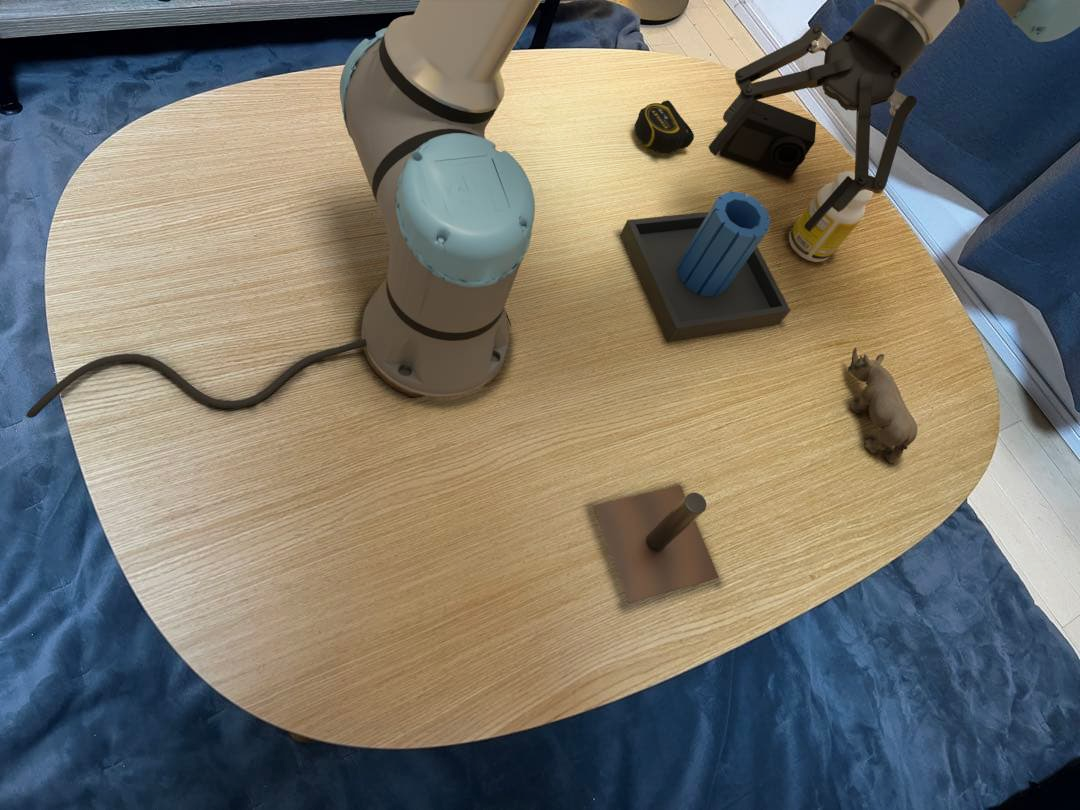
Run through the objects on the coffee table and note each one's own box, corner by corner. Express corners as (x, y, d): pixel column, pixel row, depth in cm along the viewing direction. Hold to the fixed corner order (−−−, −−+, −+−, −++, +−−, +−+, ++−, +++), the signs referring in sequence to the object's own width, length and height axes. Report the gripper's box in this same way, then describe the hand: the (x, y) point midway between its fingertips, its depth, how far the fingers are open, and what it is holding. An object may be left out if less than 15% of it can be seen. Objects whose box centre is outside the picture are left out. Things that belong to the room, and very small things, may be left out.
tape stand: (625, 606, 80) (667, 569, 71) (589, 509, 84) (625, 463, 75) (714, 580, 84) (766, 542, 74) (676, 489, 88) (721, 442, 78)
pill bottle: (833, 238, 112) (882, 179, 102) (827, 271, 108) (876, 213, 99) (791, 219, 112) (835, 158, 102) (783, 251, 108) (828, 191, 99)
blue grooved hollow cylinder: (690, 300, 99) (730, 240, 90) (669, 256, 102) (706, 193, 93) (736, 293, 102) (779, 234, 92) (714, 250, 104) (755, 188, 95)
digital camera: (717, 160, 114) (740, 121, 108) (721, 134, 116) (743, 94, 111) (788, 186, 115) (815, 148, 109) (790, 159, 117) (816, 121, 112)
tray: (667, 342, 97) (676, 328, 94) (619, 234, 103) (627, 219, 100) (779, 323, 102) (790, 310, 100) (727, 223, 108) (737, 208, 106)
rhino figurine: (857, 359, 102) (886, 332, 97) (901, 463, 96) (934, 439, 91) (828, 361, 101) (856, 334, 96) (871, 466, 95) (903, 442, 90)
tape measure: (688, 153, 113) (700, 132, 110) (647, 163, 110) (658, 142, 107) (663, 117, 115) (673, 95, 112) (621, 125, 112) (631, 103, 109)
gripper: (988, 107, 90) (846, 264, 95) (804, -29, 94) (677, 128, 99) (1006, 87, 82) (850, 258, 87) (806, -60, 87) (668, 111, 92)
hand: (758, 189), depth 93 cm, fingers open, 13 cm apart
